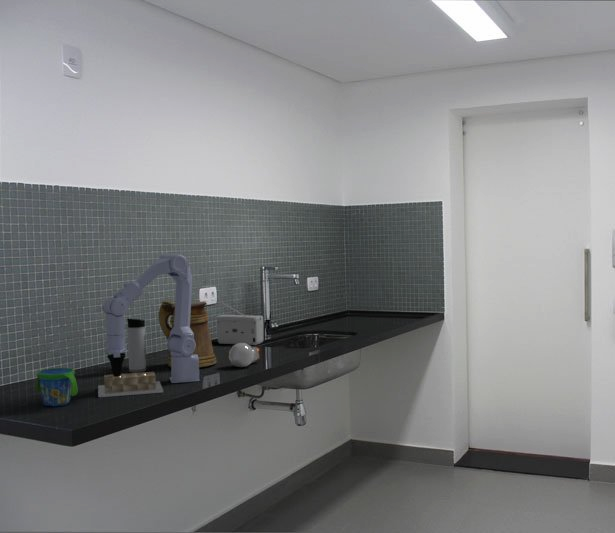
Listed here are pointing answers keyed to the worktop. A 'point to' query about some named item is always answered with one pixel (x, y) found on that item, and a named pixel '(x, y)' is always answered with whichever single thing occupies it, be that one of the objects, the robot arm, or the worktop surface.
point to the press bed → (129, 391)
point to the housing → (130, 381)
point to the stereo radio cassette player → (240, 329)
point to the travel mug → (136, 345)
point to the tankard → (196, 325)
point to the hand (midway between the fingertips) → (116, 376)
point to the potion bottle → (243, 354)
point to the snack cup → (56, 386)
